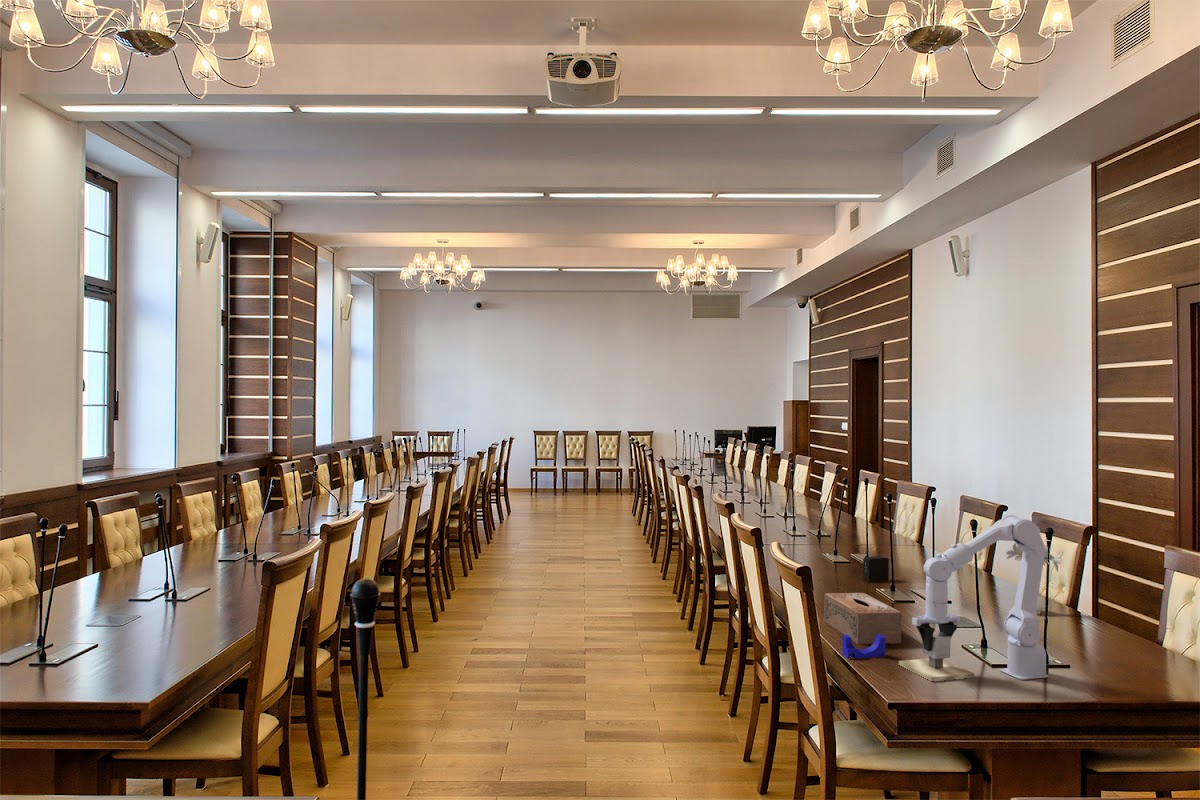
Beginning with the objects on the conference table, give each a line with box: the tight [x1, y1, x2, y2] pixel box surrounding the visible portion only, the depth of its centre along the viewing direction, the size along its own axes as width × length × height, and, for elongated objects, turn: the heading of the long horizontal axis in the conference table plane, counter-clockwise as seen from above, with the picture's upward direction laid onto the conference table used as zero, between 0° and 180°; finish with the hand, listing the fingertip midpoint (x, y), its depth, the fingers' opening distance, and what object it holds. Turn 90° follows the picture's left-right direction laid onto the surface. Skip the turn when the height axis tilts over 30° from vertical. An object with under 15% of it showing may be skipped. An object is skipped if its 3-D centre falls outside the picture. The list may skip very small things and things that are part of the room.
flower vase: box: [1006, 542, 1063, 615], centre depth 287 cm, size 13×18×25 cm
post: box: [928, 656, 944, 669], centre depth 221 cm, size 3×3×3 cm
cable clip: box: [841, 634, 886, 660], centre depth 233 cm, size 12×4×6 cm, turn 93°
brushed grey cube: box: [922, 630, 952, 659], centre depth 220 cm, size 5×5×6 cm
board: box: [898, 657, 975, 682], centre depth 221 cm, size 14×14×1 cm
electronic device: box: [862, 555, 890, 583], centre depth 336 cm, size 4×10×10 cm, turn 107°
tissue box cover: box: [823, 592, 902, 645], centre depth 259 cm, size 26×14×10 cm, turn 7°
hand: (935, 649), depth 221 cm, fingers closed on brushed grey cube, 5 cm apart
